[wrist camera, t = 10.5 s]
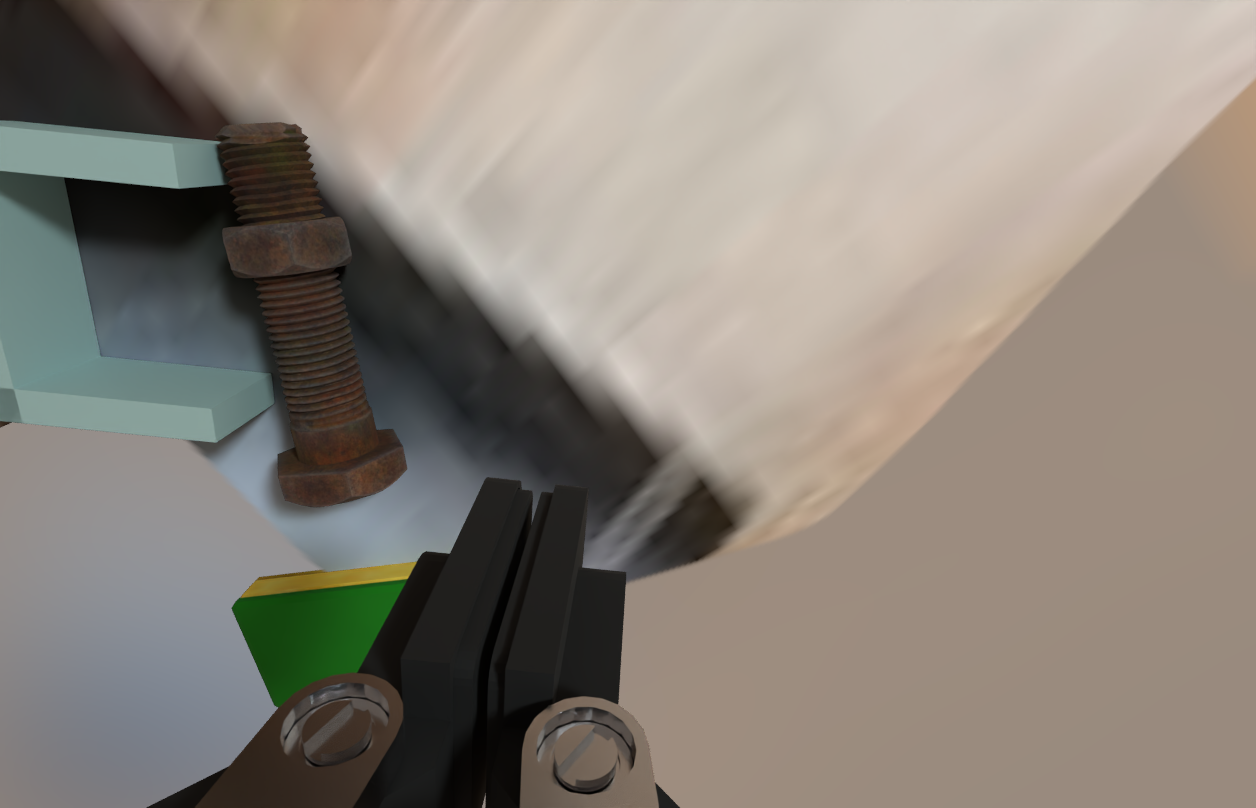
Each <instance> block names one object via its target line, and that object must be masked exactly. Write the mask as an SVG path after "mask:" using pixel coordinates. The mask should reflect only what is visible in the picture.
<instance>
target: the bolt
mask: <svg viewBox="0 0 1256 808" xmlns="http://www.w3.org/2000/svg"><path fill="white" fill-rule="evenodd" d="M215 137H216V139H218V140H219V141H221V143H220V144H218V145H217V147H218V148H219V149H221V150H223V152H222V153H221V154H220V157H222V158H223V159H225V160H226V161H225V162H224V163H223V164H222V165H223V166H224V167H225V168H227V169H228V171H227V172H226V173H225V175H226V176H227V177H229V178H231V180H230V181H229V182H228V183H227V184H228V185H230V186H231V187H233V188H234V189H233V190H232V191H230V192H229V193H230V194H232V195H233V196H235V197H236V198H235V199H234V200H233V203H234V204H236V205H237V206H239V207H238V208H237V209H236V210H235V212H236V213H238V214H240V215H241V216H240V217H239V218H238V219H237V221H239V222H241V223H242V224H244V225H243V226H235V227H227V228H223V231H222V235H223V241H224V245H225V248H226V252H227V256H228V259H229V263H230V266H231V270H232V272H233V274H234V275H235V276H236V277H237V278H255V279H254V280H253V281H254V282H256V283H258V284H259V285H258V286H257V288H256V290H258V291H260V292H262V293H261V294H260V295H259V296H258V297H257V298H259V299H261V300H263V302H262V303H261V305H260V307H262V308H265V309H266V310H265V311H263V312H262V315H264V316H266V317H268V318H267V319H266V320H265V321H264V323H265V324H268V325H270V326H269V327H268V328H267V329H266V330H267V332H270V333H272V334H271V335H270V336H269V337H268V338H269V340H272V341H274V342H273V343H272V344H271V345H270V346H271V348H273V349H276V350H275V351H274V352H273V355H274V356H276V357H278V358H277V359H276V361H275V363H277V364H278V365H280V366H279V367H278V371H279V372H281V374H280V375H279V377H280V379H281V380H283V381H282V383H281V386H282V387H284V388H285V389H284V390H283V394H284V395H286V397H285V401H286V403H289V404H287V409H288V410H290V412H289V417H290V421H291V422H290V429H291V433H292V437H293V441H294V444H295V448H292V449H290V450H287V451H285V452H282V453H280V454H278V478H279V481H280V485H281V488H282V491H283V495H284V498H285V501H289V502H292V503H295V504H299V505H303V506H309V507H324V506H330V505H335V504H340V503H345V502H349V501H353V500H357V499H360V498H363V497H367V496H370V495H373V494H376V493H378V492H381V491H383V490H384V489H386V488H388V487H389V486H390V485H392V484H393V483H394V482H395V481H396V480H398V479H399V478H400V476H401V475H402V474H403V473H404V472H405V471H406V470H407V465H406V460H405V455H404V450H403V446H402V444H401V443H400V441H399V439H398V437H397V435H396V434H395V432H394V430H393V429H385V430H376V426H375V422H374V418H373V413H372V409H371V407H370V406H369V404H368V401H367V400H366V393H365V392H364V391H365V387H364V386H363V385H362V384H363V383H364V382H363V379H362V378H361V376H362V373H361V372H360V371H359V370H360V365H358V364H356V363H357V362H358V358H357V357H355V355H356V353H357V351H356V350H354V349H352V348H353V347H355V343H354V342H352V341H351V340H352V339H353V335H351V334H350V332H351V327H349V326H347V325H348V324H350V321H349V320H348V319H346V317H347V315H348V313H347V312H346V311H344V309H345V308H346V304H344V303H341V302H342V301H343V300H344V297H343V296H341V295H339V294H340V293H341V292H342V291H343V290H342V289H341V288H339V287H337V286H338V285H339V284H340V283H341V282H340V281H339V280H337V279H335V278H336V277H337V276H338V275H339V273H337V272H335V271H334V270H335V269H336V267H340V266H344V265H347V264H349V263H350V262H351V260H352V253H351V249H350V244H349V240H348V235H347V231H346V227H345V224H344V222H343V220H342V219H341V218H340V217H326V218H325V215H323V214H321V213H320V212H321V210H322V209H323V208H324V207H322V206H320V205H318V204H319V202H320V201H321V200H322V199H321V198H319V197H317V196H316V195H317V194H318V193H319V192H320V190H318V189H316V188H314V187H315V186H316V185H317V183H318V182H317V181H315V180H313V179H312V178H313V177H314V176H315V174H316V173H315V172H313V171H311V170H310V169H311V168H312V166H313V165H314V164H313V163H311V162H309V161H308V160H309V158H310V157H311V154H310V153H308V152H306V151H307V150H308V148H309V147H310V146H309V145H307V144H306V143H304V141H305V140H306V139H307V138H308V137H307V136H305V135H304V134H302V132H301V128H300V127H299V126H297V125H296V124H293V125H288V124H285V123H281V122H279V123H257V124H240V125H228V126H224V127H223V128H222V129H221V131H220V132H219V133H218V134H217V135H216V136H215Z"/></svg>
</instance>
